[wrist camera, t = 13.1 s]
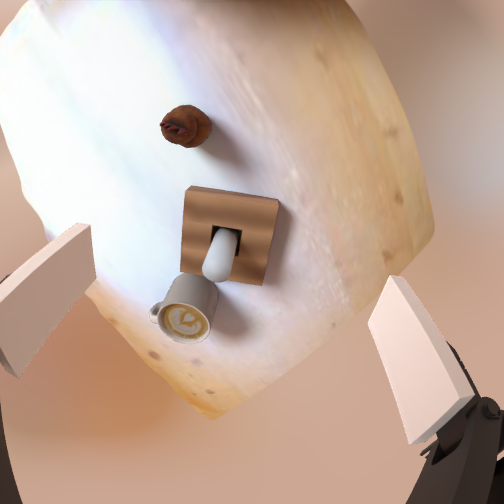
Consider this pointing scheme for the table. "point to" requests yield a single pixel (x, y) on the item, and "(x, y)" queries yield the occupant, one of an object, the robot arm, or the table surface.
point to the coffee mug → (187, 309)
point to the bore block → (231, 216)
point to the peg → (220, 255)
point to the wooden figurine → (186, 126)
